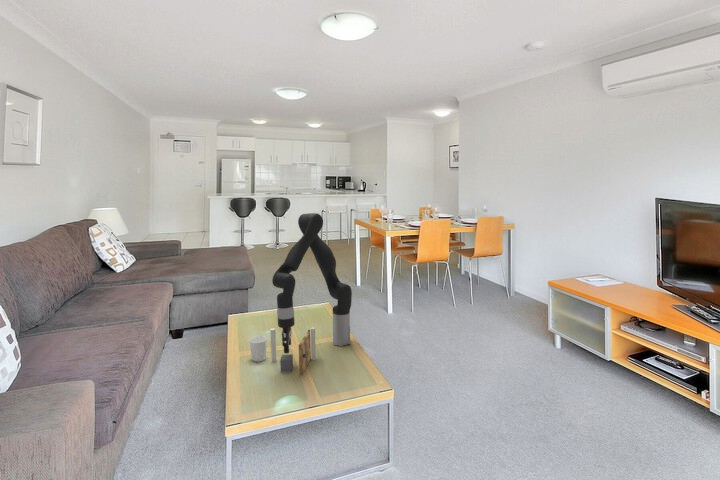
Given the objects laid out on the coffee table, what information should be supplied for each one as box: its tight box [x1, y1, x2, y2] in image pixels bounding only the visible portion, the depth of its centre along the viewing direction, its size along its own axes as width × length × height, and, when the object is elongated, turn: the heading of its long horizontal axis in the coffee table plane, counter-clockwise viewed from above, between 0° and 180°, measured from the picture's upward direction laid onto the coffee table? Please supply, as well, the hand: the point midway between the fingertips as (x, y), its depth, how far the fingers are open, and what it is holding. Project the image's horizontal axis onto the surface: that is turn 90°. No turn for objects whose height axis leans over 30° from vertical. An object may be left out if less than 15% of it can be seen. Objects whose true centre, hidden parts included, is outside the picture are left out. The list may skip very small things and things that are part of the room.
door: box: [298, 329, 311, 375], centre depth 172 cm, size 16×2×15 cm, turn 173°
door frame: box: [270, 326, 317, 362], centre depth 179 cm, size 21×2×16 cm, turn 94°
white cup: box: [249, 335, 268, 363], centre depth 181 cm, size 8×8×10 cm
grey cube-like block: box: [279, 353, 294, 373], centre depth 171 cm, size 5×5×6 cm
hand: (287, 348), depth 171 cm, fingers open, 8 cm apart
